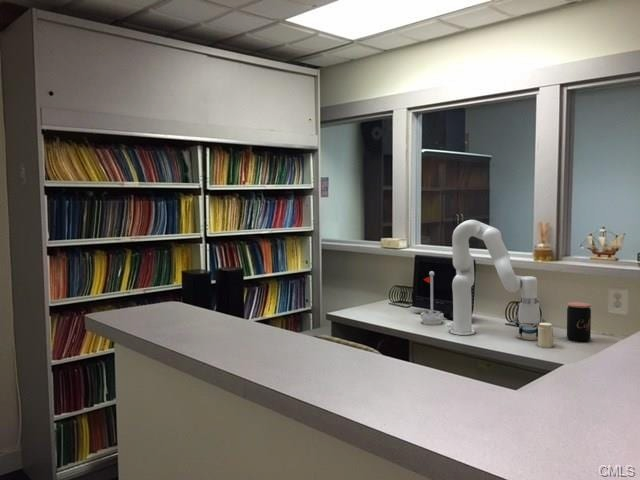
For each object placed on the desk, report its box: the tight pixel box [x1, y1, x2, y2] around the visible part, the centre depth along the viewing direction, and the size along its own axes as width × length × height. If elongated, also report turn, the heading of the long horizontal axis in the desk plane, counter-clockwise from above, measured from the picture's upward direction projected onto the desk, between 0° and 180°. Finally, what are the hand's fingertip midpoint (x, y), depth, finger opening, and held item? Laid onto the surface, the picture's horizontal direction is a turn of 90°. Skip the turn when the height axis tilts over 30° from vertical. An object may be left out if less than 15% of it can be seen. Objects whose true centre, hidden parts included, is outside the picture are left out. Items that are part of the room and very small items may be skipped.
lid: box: [522, 326, 537, 335], centre depth 272 cm, size 7×7×2 cm
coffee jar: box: [566, 301, 592, 343], centre depth 266 cm, size 11×11×18 cm
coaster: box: [516, 333, 538, 342], centre depth 272 cm, size 11×11×1 cm
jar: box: [537, 322, 554, 348], centre depth 257 cm, size 7×7×11 cm
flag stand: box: [420, 270, 445, 326], centre depth 309 cm, size 13×13×30 cm
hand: (529, 335), depth 272 cm, fingers closed on lid, 6 cm apart
